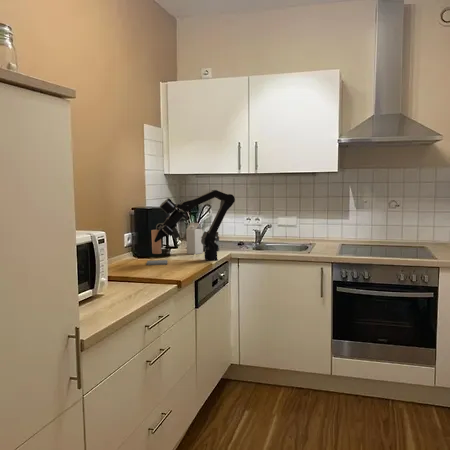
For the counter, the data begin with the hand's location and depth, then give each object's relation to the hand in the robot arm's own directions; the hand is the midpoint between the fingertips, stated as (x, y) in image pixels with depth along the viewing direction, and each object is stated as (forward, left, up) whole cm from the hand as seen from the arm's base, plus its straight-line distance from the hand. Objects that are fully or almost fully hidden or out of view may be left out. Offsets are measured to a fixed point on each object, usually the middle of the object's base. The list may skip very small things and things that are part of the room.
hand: (153, 241), depth 251 cm
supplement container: (-34, -45, -13) cm, 58 cm away
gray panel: (-1, -2, -12) cm, 13 cm away
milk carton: (-23, -35, -13) cm, 44 cm away
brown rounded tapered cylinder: (-1, 0, -7) cm, 7 cm away
